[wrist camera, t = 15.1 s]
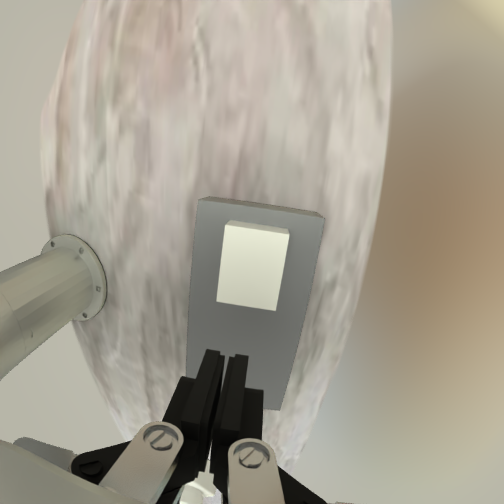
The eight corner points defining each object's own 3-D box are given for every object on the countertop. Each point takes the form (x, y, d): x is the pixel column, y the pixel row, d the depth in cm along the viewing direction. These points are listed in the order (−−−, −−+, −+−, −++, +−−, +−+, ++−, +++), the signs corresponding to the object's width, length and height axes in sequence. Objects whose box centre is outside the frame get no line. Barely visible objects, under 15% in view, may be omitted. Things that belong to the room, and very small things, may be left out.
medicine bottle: (193, 473, 45) (181, 518, 33) (169, 455, 44) (153, 502, 32) (220, 468, 44) (211, 517, 32) (197, 449, 43) (183, 501, 31)
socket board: (279, 386, 37) (279, 410, 33) (194, 373, 38) (185, 395, 33) (316, 212, 31) (324, 218, 27) (209, 196, 32) (198, 199, 27)
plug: (274, 280, 34) (275, 310, 26) (228, 273, 34) (216, 301, 26) (285, 221, 32) (289, 234, 24) (236, 213, 32) (225, 224, 24)
